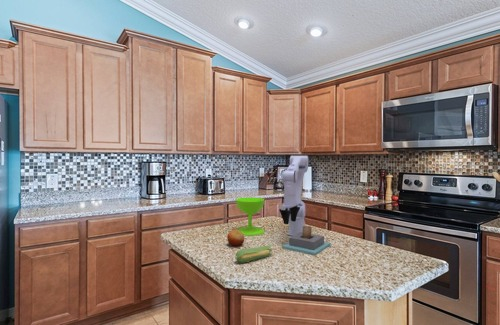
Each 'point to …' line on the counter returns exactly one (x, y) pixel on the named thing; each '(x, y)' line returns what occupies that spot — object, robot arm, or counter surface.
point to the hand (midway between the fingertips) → (289, 222)
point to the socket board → (313, 252)
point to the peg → (306, 232)
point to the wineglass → (250, 214)
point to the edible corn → (253, 253)
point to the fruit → (235, 238)
